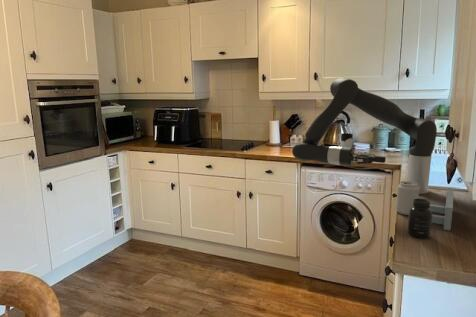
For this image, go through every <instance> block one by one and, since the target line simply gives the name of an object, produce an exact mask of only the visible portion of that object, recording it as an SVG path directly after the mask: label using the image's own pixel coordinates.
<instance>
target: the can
mask: <svg viewBox="0 0 476 317" xmlns="http://www.w3.org/2000/svg"><path fill="white" fill-rule="evenodd" d="M417 185H418V184H417V183H415V182H411V181H407V180H404V181H403V180H401V181H400V182H399V184H397V192H396V194H397V195H396V204H395V211H396V212H398V214H401V215H402V216H403V215H404V216H409V210H410V208H411V207H413V201H414V199H419V195H420V194H419V187H418V186H417Z"/></svg>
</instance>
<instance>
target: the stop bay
mask: <svg viewBox="0 0 476 317" xmlns="http://www.w3.org/2000/svg"><path fill="white" fill-rule="evenodd" d="M429 209H430V210H431V211H432V213H437V214H442V215H443V214H444V215H443V216H442V215H436V214H435V215H434V214H432V224H438V225H443V230H445V231H451V228H452V227H451V226H452V219H453V212H454V211H453V210H454V190H453V189H447V190H446V199H445V206H443V205H437V204H431V203H430V208H429Z"/></svg>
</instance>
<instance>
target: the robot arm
mask: <svg viewBox="0 0 476 317" xmlns="http://www.w3.org/2000/svg"><path fill="white" fill-rule="evenodd" d="M329 91H330V93H331V95H332V97H333V99H332V100H331V101H330V103H329V105H328V106H326V108H324V110H323V111H322V112H321V113H319V115H318V116H316V118H315V119H314V120H313V121H312V123H311V124H310V126H309V127H308V129H307V130H306V132H305V134H304V137H305V138H304V141H303V142H302V143H296V144H295V145H294V146H293V147H292V149H291V150H292V152H291V153H292V155H293V157H294V159H295V158H296V159H297V160H299V161H302V162H306V161H316V162H318V163H323V164H324V163H325V164H331V165H336V166H337V165H338V166H346V167H347V166H348V167H351V166H353V163H354V162H355V163H356V164H359V165H361V164H373V163H381V164H385V163H386V160H387V157H386V156H379V155H376V154H375V153H370V152H366V151H358V152H355V148H354V147H352V148H351V147H339V146H338V145H337V146H336V145H334V146H327V145H319V143H320V142H321V140H322V139H323V137H324V136H325V135H326V133H327V131H328V130H329V129H330V127H331V126H332V124H333V123H334V122H335V120H337V118H338V117H339V116H340V114H341V113H342V112H343V111H344V110H345V109H346V107H347V106H348V105H349V104H350V105H352V106H354V107H356V108H358V109H360V111H362V112H364V113H366V114H367V115H369V116H371V117H372V118H374V119H376V120H378V121H380V122H382V123H384V124H387V125H389V126H392V127H395V128H396V129H398V130H400V131H401V132H404V133H405V134H406V135H408V136H409V137H410V138H413V139H415V144H414V145H413V146H411V147H410V148H409V150H408V159H407V160H408V162H407V172H406V181H411V182H415V183H417V184H418V185H417V186H418V187H419V195H425V194H429V193H428V191H429V184H430V175H431V174H430V173H431V163H432V153H433V151H434V149H435V147H436V140H437V134H438V133H437V132H438V131H437V130H438V129H437V125H436V122H434V121H433V120H431V119H424V118H419V117H415V116H413V115H409V114H407V113H405V112H404V111H403V110H402V109H401V108H400V107H399V105H397V104H396V103H394V102H393V101H391V100H389V99H387V98H385V97H383V96H381V95H377V94H375V93H371V92H368V91H366V90H363V89H362V88H359V85H358V83H357V82H356V81H355V80H353V79H350V78H345V77H340V78H337V79H335V80H334V81H332V83H330V87H329Z"/></svg>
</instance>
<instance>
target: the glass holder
mask: <svg viewBox="0 0 476 317" xmlns="http://www.w3.org/2000/svg"><path fill="white" fill-rule="evenodd" d="M339 136H340V142H339ZM353 136H354V135H353V133H349V132H348V133H345V132H344V133H341V134H337V136H336V142H337V146H339V147H351V148H353V141H354V140H353Z"/></svg>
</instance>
